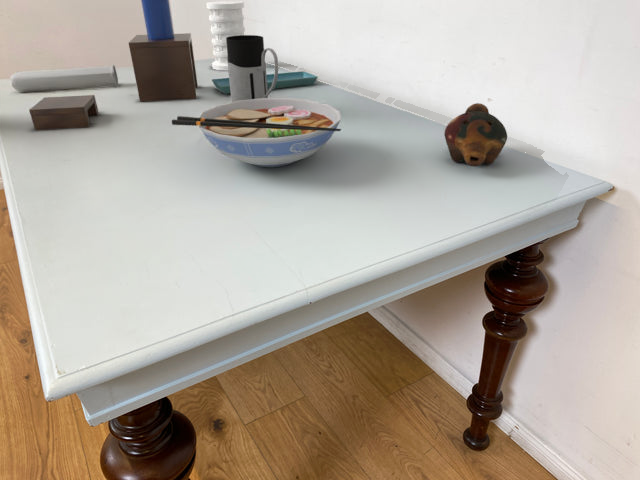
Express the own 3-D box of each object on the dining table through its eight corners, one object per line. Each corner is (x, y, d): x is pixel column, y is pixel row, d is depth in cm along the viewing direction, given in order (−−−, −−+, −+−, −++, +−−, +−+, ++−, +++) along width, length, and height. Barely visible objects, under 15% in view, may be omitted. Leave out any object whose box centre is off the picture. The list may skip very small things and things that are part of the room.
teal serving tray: (304, 78, 133) (303, 69, 132) (318, 84, 126) (318, 75, 125) (212, 89, 123) (210, 79, 122) (222, 96, 116) (221, 86, 115)
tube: (5, 78, 118) (113, 71, 123) (8, 67, 121) (113, 61, 126) (14, 97, 122) (118, 90, 127) (17, 86, 125) (118, 79, 130)
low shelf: (35, 130, 94) (28, 109, 92) (49, 116, 103) (44, 97, 101) (88, 126, 96) (83, 106, 94) (99, 113, 104) (94, 94, 102)
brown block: (139, 101, 113) (128, 42, 106) (146, 89, 124) (136, 35, 117) (196, 98, 115) (188, 40, 108) (197, 86, 126) (190, 33, 119)
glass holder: (254, 104, 110) (248, 33, 102) (295, 116, 101) (293, 40, 94) (222, 111, 105) (214, 37, 97) (263, 125, 96) (257, 45, 88)
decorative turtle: (494, 145, 84) (505, 100, 80) (507, 185, 72) (521, 134, 68) (438, 139, 86) (446, 95, 81) (441, 178, 73) (451, 128, 69)
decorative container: (204, 67, 148) (196, 3, 139) (233, 62, 156) (227, 0, 147) (229, 72, 142) (222, 4, 133) (257, 66, 150) (253, 2, 140)
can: (146, 39, 110) (138, -5, 105) (149, 36, 115) (142, -6, 110) (173, 39, 111) (166, -5, 106) (175, 35, 116) (168, -7, 111)
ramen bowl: (356, 142, 87) (358, 96, 82) (333, 194, 67) (334, 137, 63) (226, 134, 91) (221, 90, 87) (169, 181, 72) (160, 127, 68)
